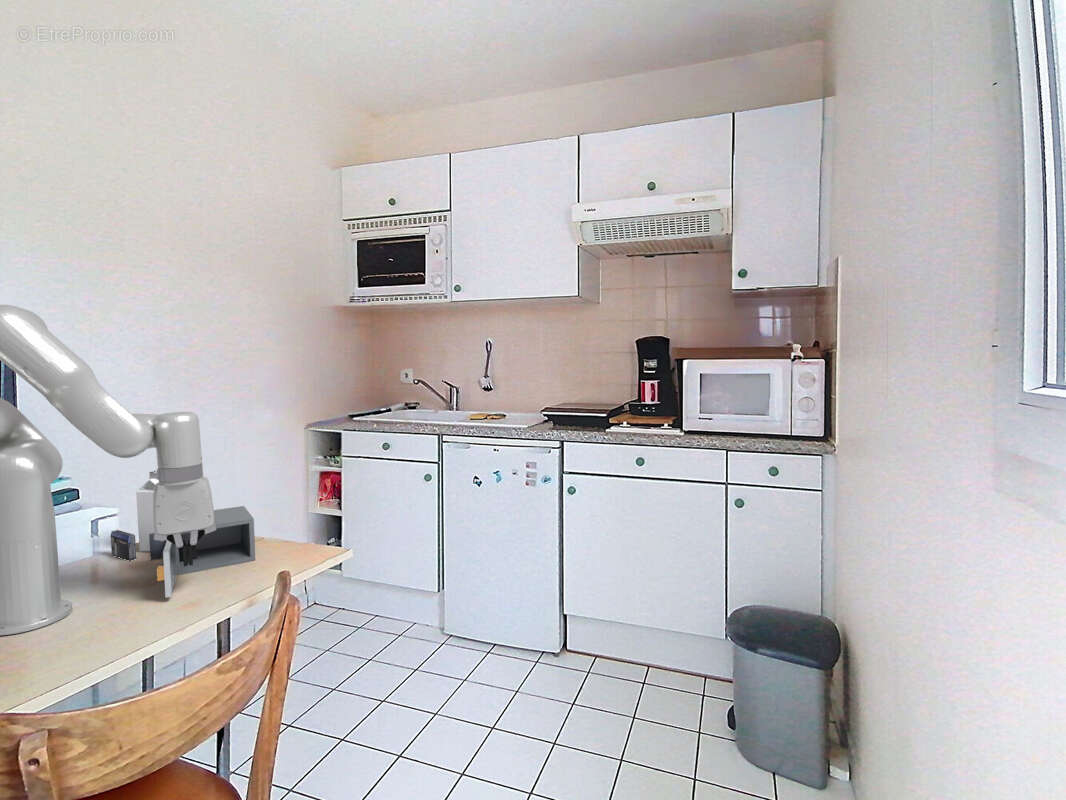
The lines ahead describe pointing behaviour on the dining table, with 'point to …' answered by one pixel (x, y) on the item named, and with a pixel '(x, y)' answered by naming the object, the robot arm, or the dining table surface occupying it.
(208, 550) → the grey cabinet
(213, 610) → the dining table surface
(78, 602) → the dining table surface
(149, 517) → the milk carton
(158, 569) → the door
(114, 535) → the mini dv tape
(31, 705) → the dining table surface
